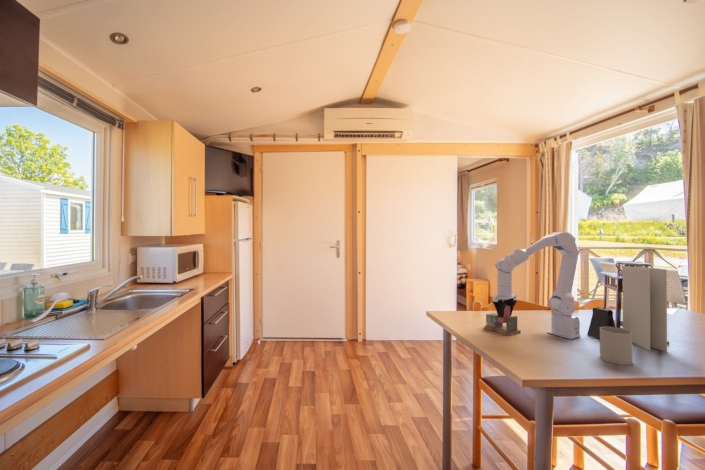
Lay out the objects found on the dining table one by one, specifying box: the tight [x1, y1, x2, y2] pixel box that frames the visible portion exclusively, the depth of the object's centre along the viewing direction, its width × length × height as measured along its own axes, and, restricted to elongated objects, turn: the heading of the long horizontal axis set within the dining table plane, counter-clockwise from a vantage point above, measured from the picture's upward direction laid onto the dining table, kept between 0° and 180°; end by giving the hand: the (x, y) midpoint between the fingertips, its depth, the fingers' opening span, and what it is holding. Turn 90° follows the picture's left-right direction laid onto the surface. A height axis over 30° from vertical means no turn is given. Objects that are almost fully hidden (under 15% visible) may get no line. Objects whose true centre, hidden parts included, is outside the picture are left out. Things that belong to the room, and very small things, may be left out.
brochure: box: [622, 265, 668, 353], centre depth 116 cm, size 14×6×30 cm, turn 168°
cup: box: [599, 326, 633, 366], centre depth 102 cm, size 8×8×10 cm
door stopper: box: [586, 306, 617, 340], centre depth 125 cm, size 9×6×12 cm, turn 104°
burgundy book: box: [498, 305, 511, 324], centre depth 132 cm, size 2×5×7 cm, turn 119°
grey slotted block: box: [483, 312, 521, 337], centre depth 133 cm, size 12×8×7 cm, turn 29°
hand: (504, 316), depth 132 cm, fingers closed on burgundy book, 5 cm apart
